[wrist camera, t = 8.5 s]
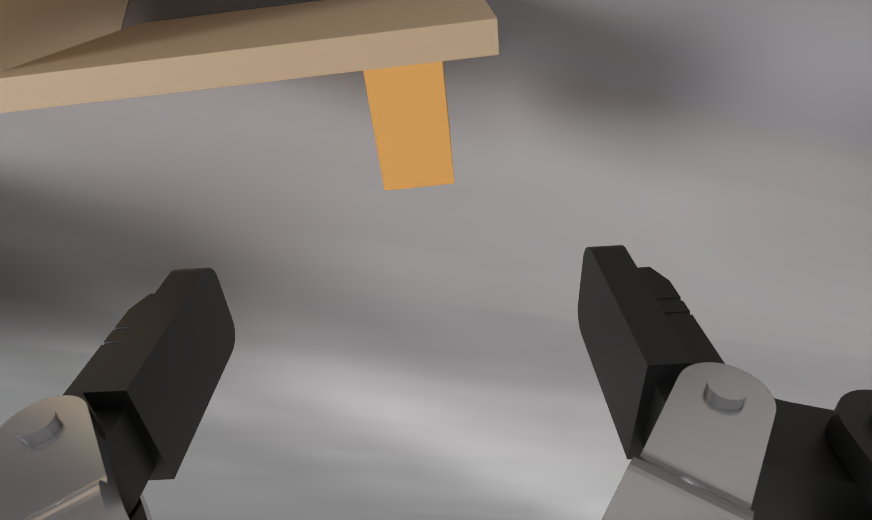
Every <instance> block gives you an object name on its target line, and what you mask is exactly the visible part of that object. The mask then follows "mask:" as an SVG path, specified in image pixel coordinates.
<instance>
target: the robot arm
mask: <svg viewBox="0 0 872 520" xmlns="http://www.w3.org/2000/svg"><path fill="white" fill-rule="evenodd" d="M578 320H579V327H580V331H581V334H582V337H583V340H584V343H585V345H586V348H587V351H588V354H589V356H590V359H591V362H592V364H593V367H594V370H595V373H596V375H597V378H598V381H599V383H600V386H601V389H602V392H603V394H604V397H605V400H606V403H607V405H608V408H609V411H610V413H611V416H612V419H613V422H614V424H615V427H616V430H617V432H618V435H619V438H620V441H621V443H622V446H623V449H624V452H625V454H626V457H627V459H632V460H631V462H630V464H629V466H628V467H627V469H626V471H625V473H624V476H623V478H622V480H621V482H620V484H619V486H618V488H617V490H616V492H615V494H614V496H613V498H612V500H611V502H610V504H609V506H608V508H607V510H606V512H605V514H604V516H603V518H602V520H872V390H856V391H852V392H849V393H847V394H845V395H844V396H843V397H841V399H840V400H839V402H838V404H837V406H836V408H835V410H829V409H823V408H818V407H813V406H807V405H802V404H797V403H791V402H787V401H782V400H778V399H775V398H774V397H773V395H772V394H771V392H770V391H769V389H768V388H767V387H766V386H765V385H764V384H763V383H762V382H761V381H759V380H758V379H757V378H755V377H754V376H752V375H751V374H749V373H747V372H745V371H743V370H741V369H739V368H736V367H733V366H730V365H727V364H725V363H724V362H723V360H722V359H721V357H720V356H719V354H718V353H717V351H716V350H715V348H714V347H713V345H712V344H711V342H710V341H709V339H708V338H707V336H706V335H705V333H704V332H703V330H702V329H701V327H700V326H699V324H698V323H697V321H696V320H695V318H694V317H693V315H690V311H689V309H688V308H687V306H686V305H685V303H684V302H683V301H681V297H680V296H679V294H678V293H677V291H676V290H675V288H674V287H673V285H672V284H671V282H670V281H669V280H668V279H666V278H665V277H664V276H662V275H661V274H659V273H658V272H656V271H655V270H654V269H652V268H651V267H640V268H637V266H636V265H635V263H634V261H633V260H632V258H631V256H630V255H629V253H628V251H627V250H626V248H625V247H624V246H623V245H616V246H599V247H587V248H586V249H585V251H584V256H583V264H582V273H581V282H580V292H579V301H578ZM104 342H105V344H104V345H101V346H100V348H99V349H98V350H97V352H96V353H95V354H94V355H93V357H92V358H91V359H90V361H89V362H88V363H87V364H86V366H85V367H84V368H83V370H82V371H81V372H80V374H79V375H78V376H77V377H76V379H75V380H74V381H73V383H72V384H71V385H70V387H69V388H68V389H67V390H66V392H65V393H64V394H63V396H56V397H51V398H48V399H44V400H42V401H39V402H37V403H34V404H32V405H30V406H28V407H26V408H25V409H23V410H21V411H19V412H18V413H17V414H15V415H14V416H12V417H11V418H10V419H8V420H7V421H6V422H5V423H4V424H3V425H2V426H1V427H0V520H152V517H151V514H150V511H149V508H148V505H147V503H146V501H145V499H144V497H143V495H142V492H143V490H144V488H145V486H146V484H147V482H148V480H163V479H174V478H175V476H176V474H177V472H178V469H179V467H180V465H181V463H182V461H183V458H184V456H185V454H186V452H187V450H188V447H189V445H190V443H191V441H192V439H193V437H194V434H195V432H196V430H197V428H198V426H199V423H200V421H201V419H202V417H203V415H204V412H205V410H206V408H207V406H208V404H209V401H210V399H211V397H212V395H213V393H214V390H215V388H216V386H217V384H218V382H219V380H220V377H221V375H222V373H223V371H224V369H225V366H226V364H227V362H228V360H229V358H230V355H231V353H232V351H233V348H234V343H235V328H234V323H233V320H232V317H231V314H230V312H229V309H228V306H227V303H226V300H225V297H224V294H223V291H222V289H221V286H220V283H219V280H218V277H217V275H216V273H215V272H214V270H213V269H211V268H197V269H179V270H173V271H172V272H171V273H170V274H169V275H168V276H167V278H166V279H165V281H164V282H163V283H162V285H161V286H160V287H159V289H158V290H157V291H156V293H155V294H149V295H148V296H147V297H145V298H144V299H142V300H141V301H140V302H138V303H137V304H136V305H134V306H133V307H132V308H130V309H129V310H128V311H127V313H126V314H125V315H124V316H123V318H122V319H121V320H120V322H119V323H118V324H117V326H116V330H113V331H112V332H111V333H110V335H109V336H108V337H107V339H106V340H105V341H104Z"/></svg>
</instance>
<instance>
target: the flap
mask: <svg viewBox="0 0 872 520" xmlns="http://www.w3.org/2000/svg"><path fill="white" fill-rule="evenodd" d="M492 55H499V45H498V22H497V17H496V16H495V14H494V13H493V11H492V10H491V8H490V7H489V5H488V4H487V2H486V1H485V0H321V1H313V2H305V3H297V4H289V5H281V6H273V7H265V8H257V9H249V10H241V11H233V12H225V13H217V14H209V15H201V16H193V17H185V18H177V19H169V20H161V21H153V22H145V23H139V24H136V25H133V26H130V27H127V28H125V29H122V30H119V31H116V32H113V33H110V34H107V35H104V36H102V37H99V38H96V39H93V40H90V41H87V42H84V43H81V44H79V45H76V46H73V47H70V48H67V49H64V50H61V51H58V52H56V53H53V54H50V55H47V56H44V57H41V58H38V59H35V60H33V61H30V62H27V63H24V64H21V65H18V66H15V67H12V68H10V69H7V70H4V71H1V72H0V113H4V112H13V111H22V110H30V109H39V108H47V107H56V106H64V105H73V104H81V103H90V102H98V101H107V100H116V99H124V98H133V97H141V96H150V95H158V94H167V93H175V92H184V91H193V90H201V89H210V88H218V87H227V86H235V85H244V84H252V83H261V82H269V81H278V80H287V79H295V78H304V77H312V76H321V75H329V74H338V73H346V72H355V71H363V72H364V78H365V84H366V89H367V95H368V100H369V106H370V111H371V117H372V123H373V128H374V134H375V139H376V145H377V151H378V156H379V162H380V167H381V173H382V178H383V184H384V190H395V189H404V188H414V187H424V186H433V185H443V184H452V183H454V173H453V162H452V150H451V138H450V127H449V117H448V107H447V97H446V87H445V77H444V67H443V61H449V60H458V59H466V58H475V57H483V56H492Z"/></svg>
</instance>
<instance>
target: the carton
mask: <svg viewBox="0 0 872 520" xmlns="http://www.w3.org/2000/svg"><path fill="white" fill-rule="evenodd" d="M128 1H129V0H0V72H1V71H4V70H7V69H10V68H12V67H15V66H18V65H21V64H24V63H27V62H30V61H33V60H35V59H38V58H41V57H44V56H47V55H50V54H53V53H56V52H58V51H61V50H64V49H67V48H70V47H73V46H76V45H79V44H81V43H84V42H87V41H90V40H93V39H96V38H99V37H102V36H104V35H107V34H110V33H113V32H116V31H119V30H121V27H122V23H123V19H124V16H125V12H126V8H127V5H128Z"/></svg>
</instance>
